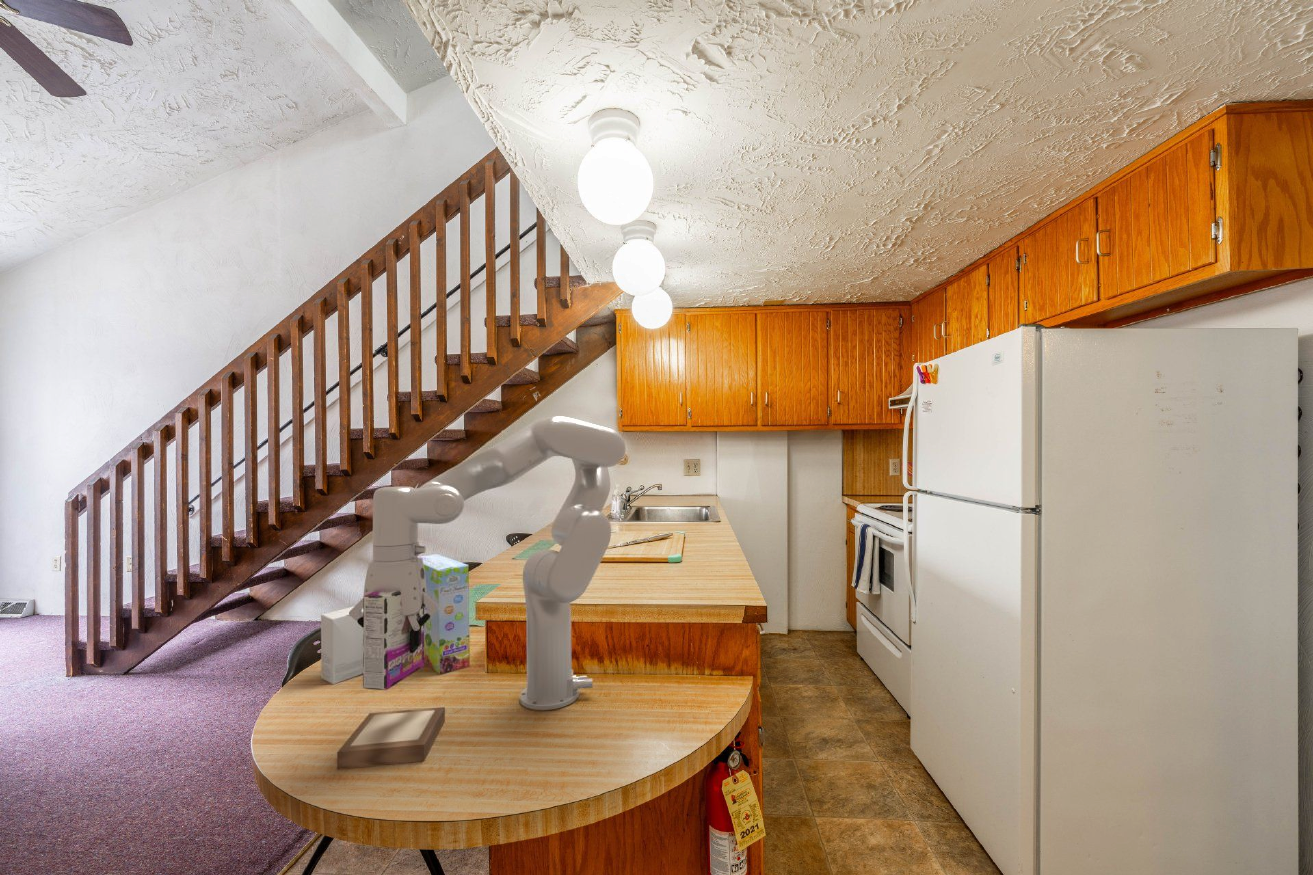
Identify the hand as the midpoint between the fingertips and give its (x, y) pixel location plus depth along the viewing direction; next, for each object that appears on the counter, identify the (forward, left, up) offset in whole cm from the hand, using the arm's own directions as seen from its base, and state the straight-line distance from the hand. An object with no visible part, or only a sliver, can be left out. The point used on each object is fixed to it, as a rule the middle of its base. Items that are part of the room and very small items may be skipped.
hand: (394, 650), depth 98 cm
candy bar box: (0, 0, -5) cm, 5 cm away
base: (0, 0, -17) cm, 17 cm away
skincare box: (+23, -35, -17) cm, 45 cm away
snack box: (+3, -42, -17) cm, 45 cm away
